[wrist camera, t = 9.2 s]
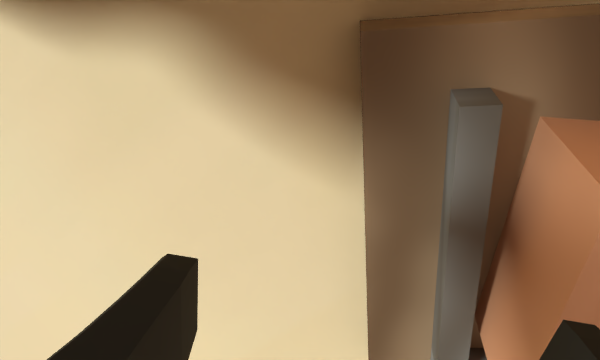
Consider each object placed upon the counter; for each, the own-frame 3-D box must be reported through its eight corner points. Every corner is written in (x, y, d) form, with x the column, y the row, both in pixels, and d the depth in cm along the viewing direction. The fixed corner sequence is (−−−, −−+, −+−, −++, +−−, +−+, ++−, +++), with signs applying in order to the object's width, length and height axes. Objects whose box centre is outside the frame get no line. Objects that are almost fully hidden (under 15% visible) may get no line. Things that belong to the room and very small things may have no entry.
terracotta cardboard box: (474, 314, 19) (507, 430, 15) (539, 116, 15) (614, 201, 11) (572, 325, 19) (634, 446, 15) (670, 126, 15) (801, 217, 10)
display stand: (368, 348, 23) (369, 402, 21) (360, 21, 15) (360, 43, 13) (673, 355, 21) (716, 416, 19) (844, -14, 13) (959, 4, 11)
